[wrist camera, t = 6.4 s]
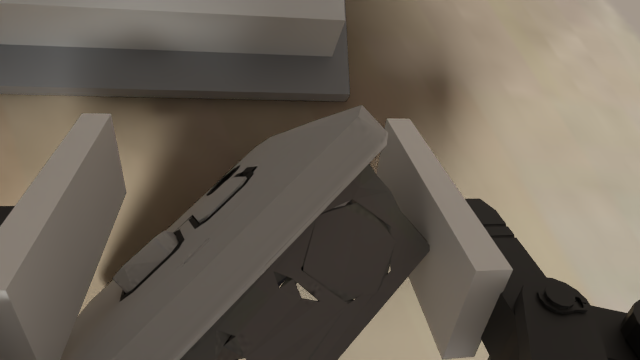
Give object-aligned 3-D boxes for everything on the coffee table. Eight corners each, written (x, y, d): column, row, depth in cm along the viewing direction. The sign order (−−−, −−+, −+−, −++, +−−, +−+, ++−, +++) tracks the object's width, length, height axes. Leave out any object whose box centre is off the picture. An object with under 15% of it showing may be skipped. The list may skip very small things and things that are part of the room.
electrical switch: (267, 138, 18) (317, 36, 9) (355, 227, 18) (488, 217, 9) (79, 313, 16) (-110, 415, 7) (184, 412, 16) (139, 638, 7)
